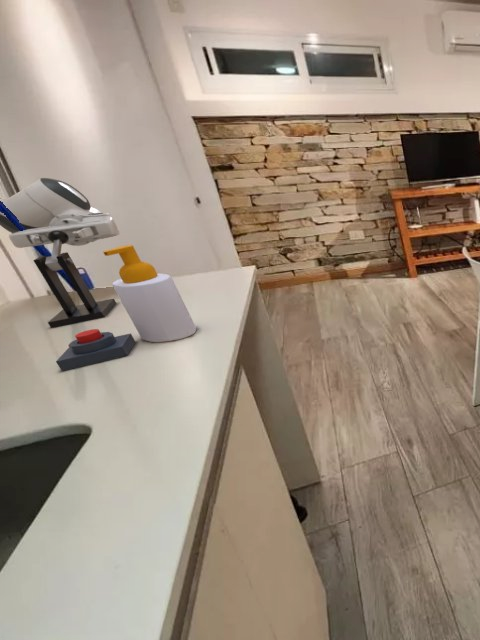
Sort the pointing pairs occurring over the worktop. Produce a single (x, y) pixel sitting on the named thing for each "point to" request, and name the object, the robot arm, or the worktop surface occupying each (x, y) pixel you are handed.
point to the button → (88, 336)
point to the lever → (56, 249)
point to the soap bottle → (151, 299)
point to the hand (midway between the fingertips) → (57, 238)
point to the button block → (95, 351)
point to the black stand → (70, 311)
